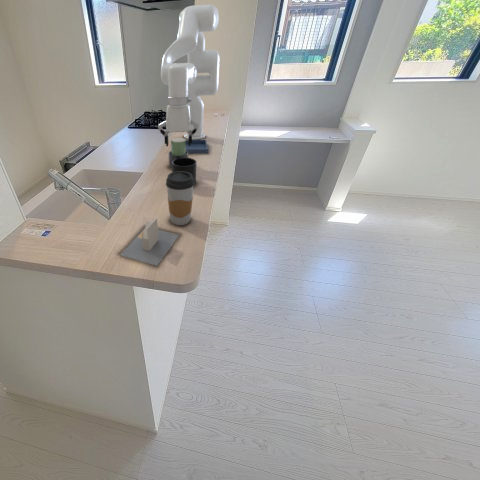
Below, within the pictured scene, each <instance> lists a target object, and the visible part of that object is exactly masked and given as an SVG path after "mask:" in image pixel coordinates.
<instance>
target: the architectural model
mask: <svg viewBox="0 0 480 480" xmlns="http://www.w3.org/2000/svg"><path fill="white" fill-rule="evenodd" d="M179 236H180V234H177V233H174V232H169V231H165V230H161V229H159V226H158V217H156V218H155V219H152V220H146V223H145V227H144V228H143V229H142V230H141V232H139V234H138V235H137V236H136V237H135V238H134V239H133V240H132V241H131V243H130V244H129V245H127V246H126V248H125V249H124V250H122V252H121V253H120V254H119V256H122V257H125V258H128V259H131V260H134V261H135V260H136V261H138V262H141V263H145V264H149V265H152V266H155V267H157V266H158V265H159V264H160V262H161V261H162V259H164V257H165V255H166V254H167V253H168V252H169V250H170V249H171V247H172V246H173V244H174V243H175V241H176V240H177V239H178V237H179Z"/></svg>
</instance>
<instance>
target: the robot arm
mask: <svg viewBox="0 0 480 480" xmlns="http://www.w3.org/2000/svg"><path fill="white" fill-rule="evenodd" d="M178 18H179V24H178V31H177V37H176V39H175V40H174V41H173V42H172V43H171V44H170V45H169V47H168V48H167V49H166V50H165V52H164V54H163V57H162V62H161V68H160V80H161V82H162V84H163V85H165V86H168V105H166V111H165V113H166V114H165V120H164V121H162V122H161V123H159V124H158V125H157V129H158V131H159V133H160V134H161V135H162V136H163V137H164V145H165V146H166V147H168V146H169V134H170V133H184V134H183V139H186V140H189V146H190V143H192V140H203V139H204V138H206V134H205V133H204V113H205V112H204V111H205V103H204V101H203V99H202V98H201V96H215V95H216V94H217V93H218V90H219V80H220V63H221V62H220V61H221V60H220V59H221V58H220V54H219V51H217V50H215V49H206V37H205V35H204V33H205V32H206V33H207V32H215V31H216V30H217V28H218V25H219V19H220V14H219V9H218V7H217V6H215V5H214V4H211V3H210V4H197V5H190V6H186V7H185V8H184V9H183V10H181V11H180V13H179V17H178ZM185 56H187V62H176V61H177V60H179V59H182V58H183V57H185ZM174 62H175V63H174ZM207 73H208V74H207ZM164 126H165V129H166V130H165V129H163V127H164Z"/></svg>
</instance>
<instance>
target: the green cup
mask: <svg viewBox="0 0 480 480" xmlns="http://www.w3.org/2000/svg"><path fill="white" fill-rule="evenodd" d="M186 140H187V139H186V138H184V137H183V138H182V137H177V138H176V137H175V138H172V139H171V140H170V151H171V155H174V156H182V155H185V154H186Z"/></svg>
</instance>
